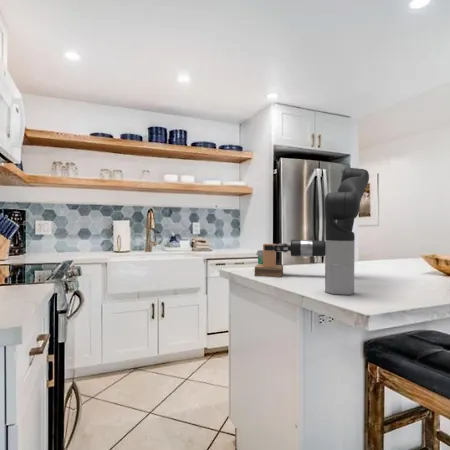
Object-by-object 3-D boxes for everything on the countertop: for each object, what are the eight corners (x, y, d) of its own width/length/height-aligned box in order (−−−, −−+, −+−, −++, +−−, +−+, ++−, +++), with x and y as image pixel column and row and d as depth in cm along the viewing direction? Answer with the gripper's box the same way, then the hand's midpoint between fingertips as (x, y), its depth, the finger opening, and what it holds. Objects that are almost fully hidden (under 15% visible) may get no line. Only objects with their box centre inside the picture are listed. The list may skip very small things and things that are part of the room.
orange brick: (275, 266, 149) (275, 244, 149) (262, 266, 150) (263, 244, 150) (275, 265, 154) (276, 244, 154) (263, 265, 155) (264, 243, 155)
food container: (251, 269, 170) (251, 250, 170) (262, 269, 172) (262, 250, 172) (264, 272, 158) (264, 252, 159) (275, 272, 161) (275, 251, 161)
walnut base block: (282, 277, 145) (282, 267, 145) (254, 276, 147) (254, 267, 147) (283, 273, 156) (283, 265, 156) (257, 272, 159) (257, 264, 159)
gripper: (301, 239, 156) (266, 238, 159) (301, 240, 142) (263, 239, 145) (301, 255, 156) (266, 254, 159) (301, 257, 142) (263, 256, 145)
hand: (265, 247), depth 152 cm, fingers open, 8 cm apart
